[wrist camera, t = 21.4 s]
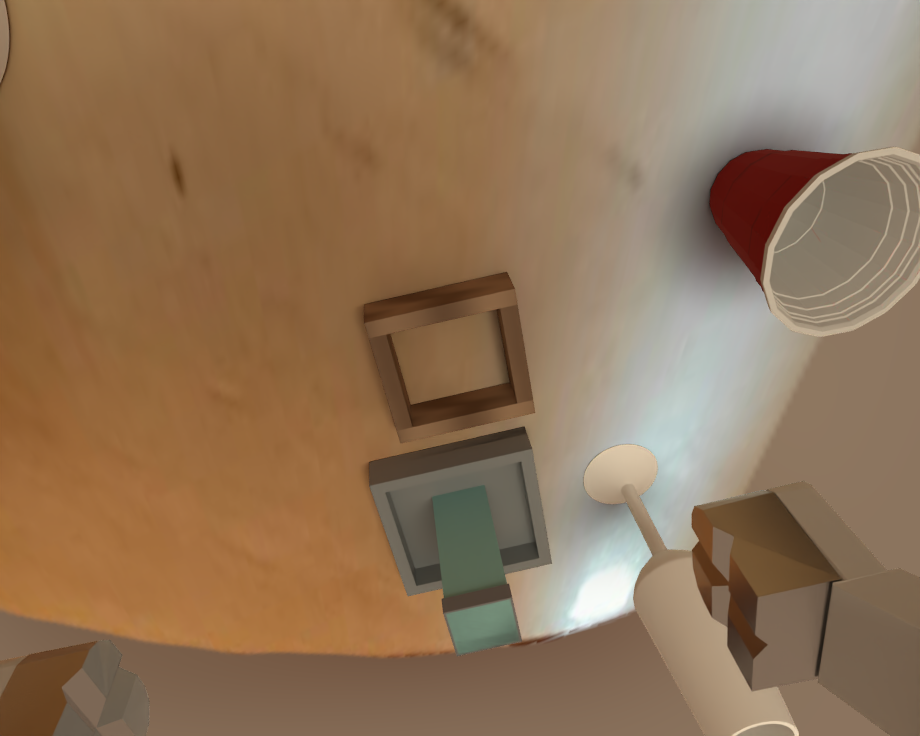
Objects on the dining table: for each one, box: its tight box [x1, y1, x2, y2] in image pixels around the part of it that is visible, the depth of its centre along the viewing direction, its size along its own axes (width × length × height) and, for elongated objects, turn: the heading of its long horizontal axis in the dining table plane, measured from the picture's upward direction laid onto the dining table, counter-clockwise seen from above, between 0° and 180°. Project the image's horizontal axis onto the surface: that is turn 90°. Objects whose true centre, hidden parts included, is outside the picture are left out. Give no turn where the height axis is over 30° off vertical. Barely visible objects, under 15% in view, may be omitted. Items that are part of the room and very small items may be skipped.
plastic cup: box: [710, 147, 920, 337], centre depth 41 cm, size 11×11×12 cm
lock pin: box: [432, 485, 522, 656], centre depth 51 cm, size 5×5×12 cm
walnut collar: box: [364, 272, 535, 443], centre depth 48 cm, size 10×10×3 cm
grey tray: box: [369, 427, 552, 596], centre depth 56 cm, size 13×13×3 cm
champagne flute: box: [583, 444, 799, 736], centre depth 48 cm, size 7×7×24 cm
